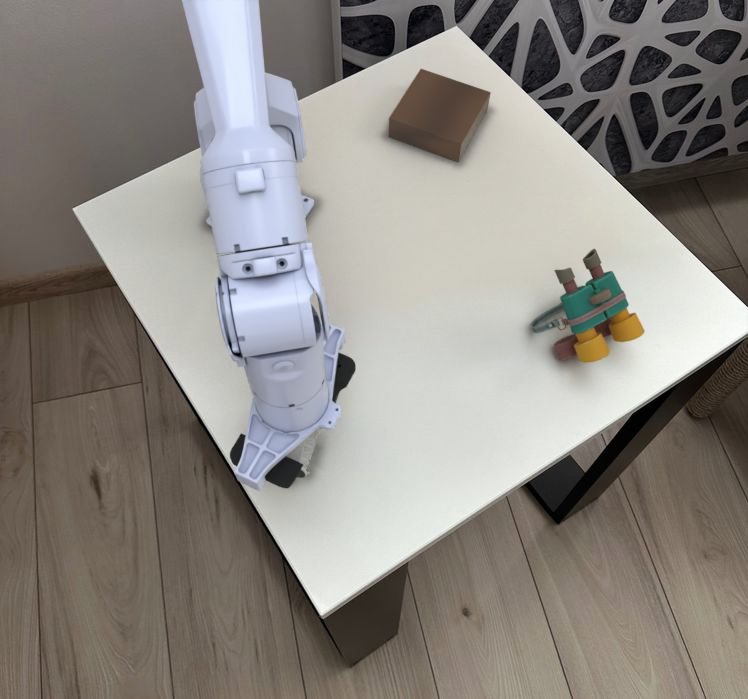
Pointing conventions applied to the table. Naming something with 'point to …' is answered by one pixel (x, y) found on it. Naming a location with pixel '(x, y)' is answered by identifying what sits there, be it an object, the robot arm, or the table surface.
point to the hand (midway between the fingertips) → (301, 441)
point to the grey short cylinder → (299, 453)
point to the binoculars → (590, 314)
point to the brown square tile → (439, 114)
